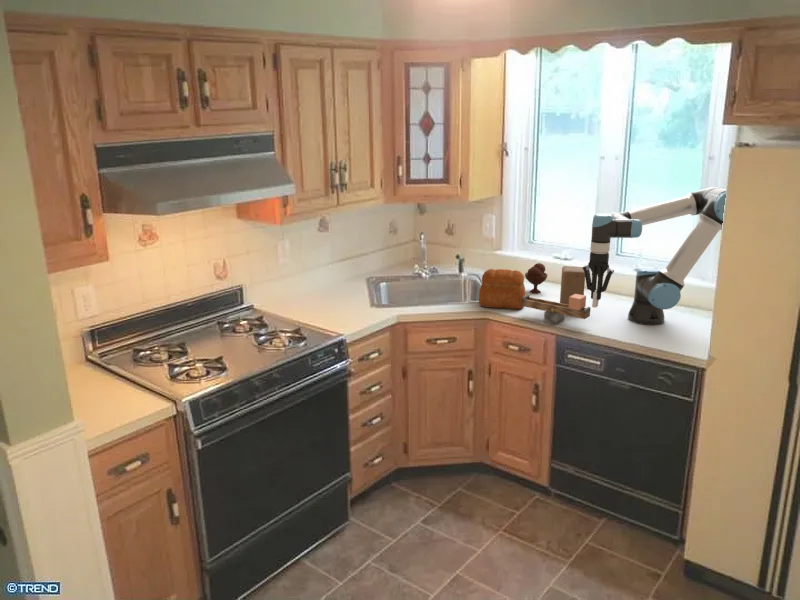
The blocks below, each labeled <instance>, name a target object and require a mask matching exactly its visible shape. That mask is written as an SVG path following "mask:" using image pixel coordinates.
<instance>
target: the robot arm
mask: <svg viewBox="0 0 800 600" xmlns="http://www.w3.org/2000/svg"><path fill="white" fill-rule="evenodd" d="M726 190H727V189H725V188H722V187H718V186H717V187H716V186H715V187H713V186H712V187H707V188H703V189H699V190H696V191H692V192H687V194H686V196H682V197H678V198H675V199H671V200H667V201H663V202H658V203H654V204H651V205H646V206H642V207H639V208H634V209H631V210H626V211H621V212H618V211H613V212H610V213H596V214H595V215H594V216H593V219H592V224H591V241H590V248H589V249H590V252H589V261H588V263H587V265H583V266H582V267H583V270H584V272H585V283H586V289H587V290H589V291H590V292H591V293H590V299H591V300H592V302H591V303H592V306H591V307H592V308H598V307H599V301H600V300H601V298H602V293H604V292H606V291H607V289H608V286H609V284H610V279H611V277H612V275H613V274H614V273H615V270H614V269H611V268H610V265H609V258H610V253H609V252H610V248H611V247H610V246H611V239H612V238H613V239H614V238H618V239H620V238H622V239H623V238H624V239H635V238H636V239H637V238H639V237H641V236H642V232H643V226H646V225H650V224H655V223H658V222H662V221H667V220H671V219H675V218H679V217H684V216H687V215H691V216H698V215H699V220H698V222H697V223H696V225H695V226H694V227H693V229H692V230H691V231H690V233H689V234H688V236H687V237H686V239H685V240H684V242H683V243H682V245H680V247H679V248H678V250H677V251H676V253H675V254H674V256H673V257H672V259H671V260H670V262H669V263H668V264H667V266H666V267H665V268H663V269H661V268H660V269H659V268H640V269H638V270H637V271H636V276H635V286H634V297H633V302H632V305H631V307H630V308H629V311H628V314H627V315H628V316H627V319H628V320H629V321H630V322H633V323H636V324H640V325H646V326H658V325H661V324H663V323H664V322H665V312H664V310H669V309H672V308H674V307H676V306H677V304H678V303H680V300H681V291H682V289H683V288H684V286H685V281H684V280H685V279H686V278H687V276H688V275H689V273H690V272H691V270H692V269H693V268H694V267H695V265H696V263H698V261H699V260H700V258H701V256H702V255H703V254H704V253H705V251H706V250H707V248H708V247H709V246H710V244H711V243H712V241H713V240H714V239H715V237H716V236H717V234H718V233H719V232H720V231H722V223H723V213H724V205H725V198H726ZM605 272H606V276H605V278H604V275H605Z"/></svg>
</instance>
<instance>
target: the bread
mask: <svg viewBox="0 0 800 600" xmlns="http://www.w3.org/2000/svg"><path fill="white" fill-rule="evenodd" d="M524 277H525V275H524V274H523V273H522V272H521V271H520V270H516V269H515V270H511V269H502V268H501V269H500V268H499V269H493V268H490V269H487V270H486V271H484V272H483V274H482V277H481V285H480V289H479V293H478V305H479V306H481V307H484V308H495V309H503V308H504V309H510V310H512V309H513V310H520V309H523V308H524V306H522V297H524V296H526V287H525V284H524V281H525V278H524Z"/></svg>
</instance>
